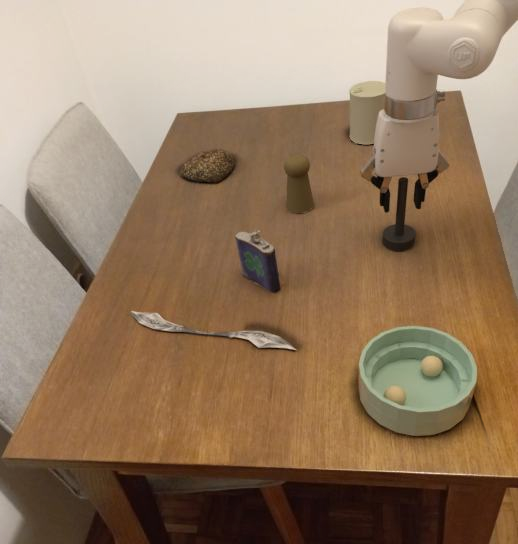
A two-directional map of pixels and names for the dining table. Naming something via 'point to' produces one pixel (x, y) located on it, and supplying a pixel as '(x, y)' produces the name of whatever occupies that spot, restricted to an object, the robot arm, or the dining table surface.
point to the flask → (258, 260)
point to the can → (365, 110)
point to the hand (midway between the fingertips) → (401, 205)
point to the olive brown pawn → (298, 184)
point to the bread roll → (209, 166)
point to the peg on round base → (400, 224)
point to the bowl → (416, 380)
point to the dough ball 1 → (395, 394)
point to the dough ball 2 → (431, 366)
